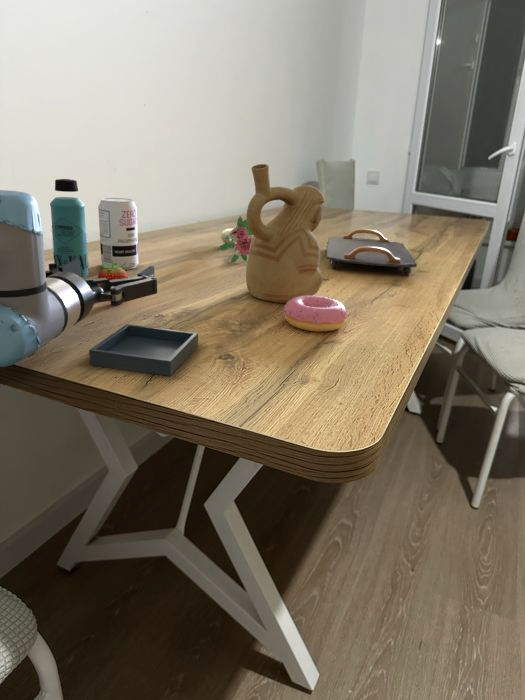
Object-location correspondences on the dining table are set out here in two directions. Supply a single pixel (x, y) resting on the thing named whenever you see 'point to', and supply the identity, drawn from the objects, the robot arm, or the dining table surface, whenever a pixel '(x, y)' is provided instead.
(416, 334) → the dining table surface
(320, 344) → the dining table surface
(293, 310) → the doughnut
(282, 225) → the ceramic vessel
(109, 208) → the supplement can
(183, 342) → the dark gray square tray
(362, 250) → the serving tray
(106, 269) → the fruit
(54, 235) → the beverage bottle
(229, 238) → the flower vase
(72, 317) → the robot arm
